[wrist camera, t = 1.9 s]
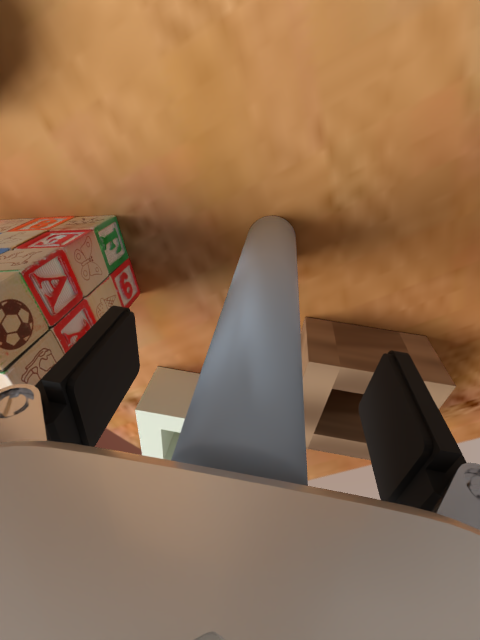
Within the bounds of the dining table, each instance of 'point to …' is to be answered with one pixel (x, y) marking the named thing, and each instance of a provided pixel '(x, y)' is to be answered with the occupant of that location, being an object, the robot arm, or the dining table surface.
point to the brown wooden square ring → (354, 379)
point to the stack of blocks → (56, 288)
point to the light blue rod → (253, 369)
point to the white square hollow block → (164, 410)
